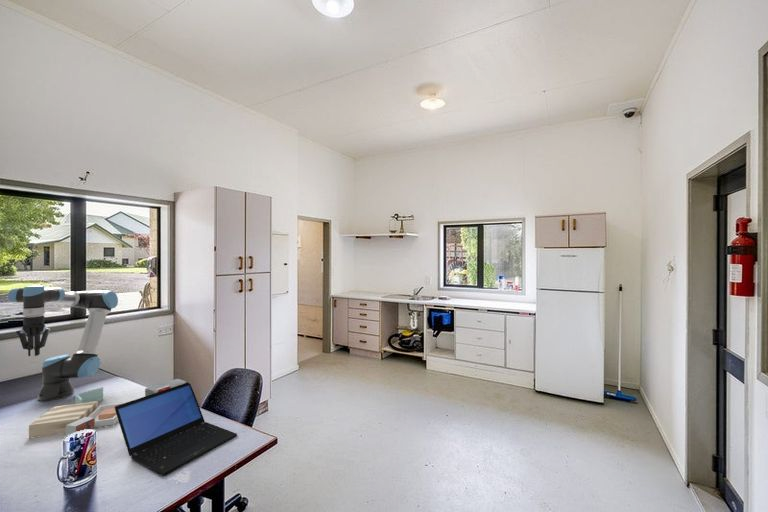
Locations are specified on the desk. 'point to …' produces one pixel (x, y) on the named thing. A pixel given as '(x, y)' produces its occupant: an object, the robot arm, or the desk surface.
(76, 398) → the l-shaped corner panel
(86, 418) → the small box
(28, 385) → the desk surface
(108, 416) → the tile
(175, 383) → the hard drive box
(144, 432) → the laptop
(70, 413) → the plate
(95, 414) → the box
